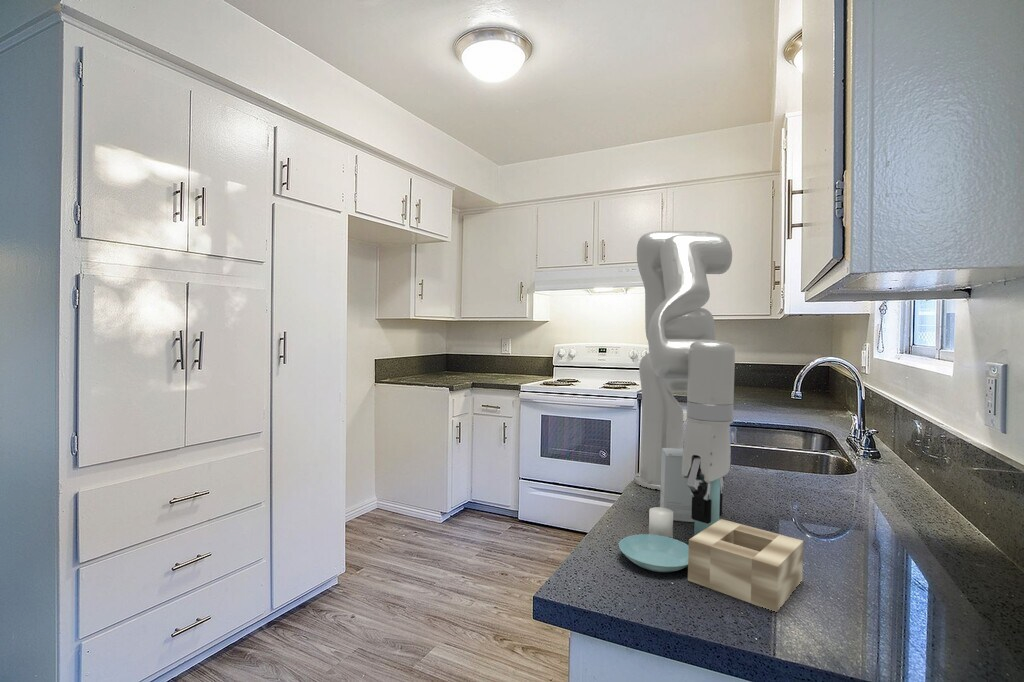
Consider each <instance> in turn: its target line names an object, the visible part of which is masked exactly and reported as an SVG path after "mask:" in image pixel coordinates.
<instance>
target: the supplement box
mask: <svg viewBox="0 0 1024 682" xmlns="http://www.w3.org/2000/svg"><path fill="white" fill-rule="evenodd" d="M682 459H683V449H675V448H662V455H661V490H660V495H659V496H660V498H659V499H660V500H659V507H662V508H667V509H670V510H672V511H673V521H675V522H676V521H678V522H686V523H687V522H688V523H694V522H695V520H693V519H692V517H691V515H692V497H691V489H690V488H689V487H688V486H687V482H688V478H684V477H683V476H682Z"/></svg>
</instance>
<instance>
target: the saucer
mask: <svg viewBox="0 0 1024 682" xmlns="http://www.w3.org/2000/svg"><path fill="white" fill-rule="evenodd" d="M618 548H619V550H620V552H622V554H623V555H624V556H625V557H626V558H627V559H628V560H630V561H631V562H632V563H633V564H635V565H636V566H638V567H640V568H643V570H644V569H646V570H647V571H652V572H657V573H674V572H677V571H680V570H682V569H685V568H688V551H689V544H687V543H685V542H684V541H681V540H678V539H675V538H674V537H673V538H669V537H665V536H659V535H649V533H648V534H645V533H643V534H640V533H639V534H634V535H633V534H632V535H628V536H626V537H624V538H622V539H621V540H620V541H619V543H618Z"/></svg>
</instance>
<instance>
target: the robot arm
mask: <svg viewBox="0 0 1024 682" xmlns="http://www.w3.org/2000/svg"><path fill="white" fill-rule="evenodd" d="M636 261H637V263H636V264H637V266H638V272H639V274H640V278H641V280H642V284H643V288H644V302H645V303H644V314H645V315H644V317H645V318H644V323H645V328H644V329H645V336H646V340H647V343H648V353H646V354H645V355H643V356H642V358H641V359H640V362H639V366H638V370H639V381H640V387H641V402H642V404H641V445H640V446H641V447H640V449H641V452H640V472H637V473H636V474H634V476H633V481H634V483H635V484H637V485H638V486H640V485H641V486H640V487H643V488H646V487H647V488H646V489H650V488H651V489H650V490H655V489H657V490H656V491H661V455H662V448H675V449H683V459H682V476H683V477H684V478H688V482H687V486H688V487H689V488H690V489H691V497H692V515H691V517H692V519H693V520H696V521H700V522H703V523H707V524H709V523H710V522H711V505H712V500H710V499H709V497H710V487H711V482H712V481H714V480H716V479H718V478H720V512H719V518H720V517H722V516H723V500H724V498H723V497H724V496H723V492H724V488H725V487H724V481H725V476H726V475H727V474H728V473H729V472H730V469H731V468H730V467H731V449H732V448H731V444H732V443H731V427H730V426H731V425H732V424H733V423H734V402H735V401H734V399H735V398H734V397H735V395H734V394H735V393H734V392H735V391H734V390H735V365H736V363H735V362H736V350H735V347H734V345H733V344H731V343H730V342H726V341H720V340H716V339H717V336H716V333H717V332H716V323H715V319H714V317H713V314H712V312H710V310H708V309H707V308H704V307H703V306H705V305H706V304H707V302H708V301H709V300H710V296H711V293H710V287H709V283H708V277H707V275H723V274H725V273H726V272H727V271H729V269H730V267H731V265H732V262H733V250H732V245H731V243H730V241H729V240H728V238H727V237H726V236H725V235H723V234H720V233H715V232H713V231H705V230H704V231H703V230H702V231H700V230H696V231H695V230H694V231H693V230H688V231H687V230H685V231H684V230H656V231H651V232H647V233H644V234H643V235H641V237H639V239H638V241H637V245H636ZM673 393H686V394H687V395H686V398H687V400H686V420H687V422H686V426H685V431H684V410H683V408H682V406H681V404H680V402H679V401H678V400H677V399H676V397H675V396H674V394H673ZM640 474H641V475H640ZM639 475H640V476H639ZM700 476H703V477H704V480H702V479H699V477H700ZM634 479H635V480H634ZM699 483H701V484H705V489H704V488H703V486H701V485H699Z"/></svg>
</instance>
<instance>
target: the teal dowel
mask: <svg viewBox="0 0 1024 682" xmlns="http://www.w3.org/2000/svg"><path fill="white" fill-rule="evenodd" d="M699 479H702V480H704V477H703V476H700V477H699ZM699 485H701V486H703V488H704V489H705V484H701V483H699ZM709 499H710V500H712V505H711V522H710V523H709V524H707V523H703V522H700V521H696V520H695V522H693V523H694V524H693V525H694V527H693V528H694V529H693V531H694V533H693V537H694V536H695V535H697V534H698V533H700V532H701V531H703V530H705V529H706V528H708V527H709V526H711V525H712V524H714V523H716V522H717V521H719V520H720V517H719V512H720V478H718V479H716V480H714V481H712V482H711V487H710V497H709Z"/></svg>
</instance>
